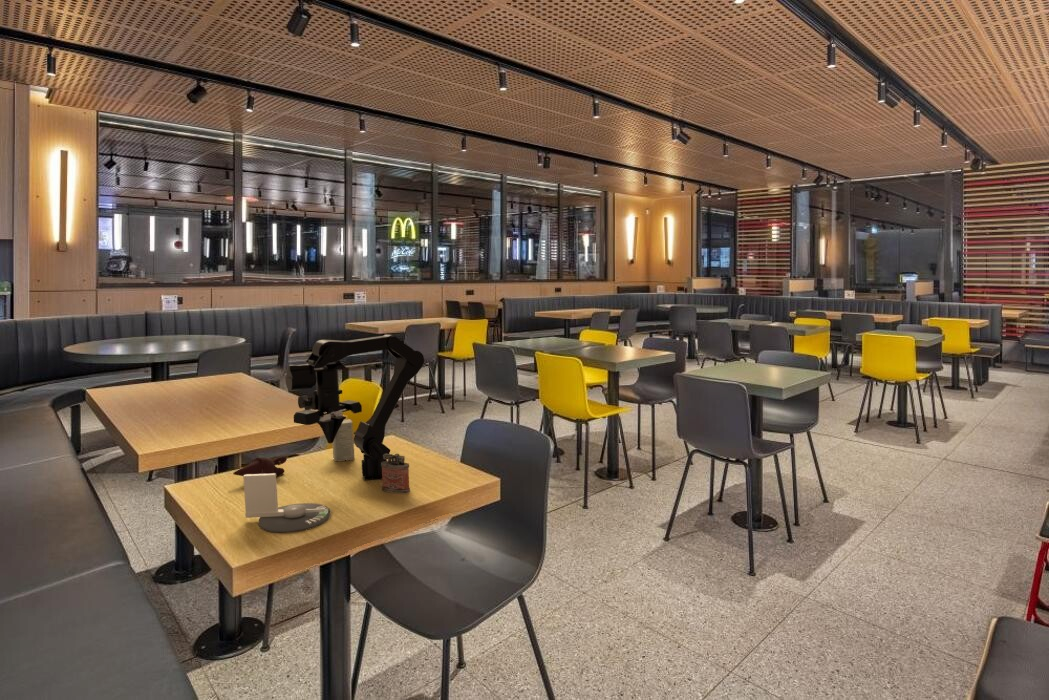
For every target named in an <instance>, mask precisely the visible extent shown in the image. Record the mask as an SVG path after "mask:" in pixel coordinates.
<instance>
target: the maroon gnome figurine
mask: <svg viewBox="0 0 1049 700" xmlns="http://www.w3.org/2000/svg"><path fill="white" fill-rule="evenodd" d="M287 460H288V458H287V457H286V456H284V455H281V456H278V457H276V458H274V459H273V460H272V459H271V458H269V457H266V456H264V457H262V456H261V457H259V456H257V457H255V458H254V459H253V460H252V461H251V463H249V464H247V465H245V466H243V467H242V468H240V469H238V470H236V471H234V472H232V473H233V476H234V475H235V476H241V477H243V476H244V475H245V474H271V473H276V476H280V475H283V474H284V473H285V469H284V468H283V467H277V466H281V465H282V464H285V463H286V462H287Z"/></svg>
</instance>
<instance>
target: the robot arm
mask: <svg viewBox="0 0 1049 700" xmlns="http://www.w3.org/2000/svg"><path fill="white" fill-rule="evenodd" d="M385 350H387V351H388V353H390V354H391V356H393V357H394V358H395V360H394V361H395V362H394V364H393V374H392V377H391V378H390V380H389V382H388V384H387V386H386V388H385V390H384V392H383V394H382V396H381V398H380V399H379V401H378V403H377V405H376V407H375V409H374V410H373V413H372V414H371V416H370V418H369V419H368V420H367V421H366V422H364V421H359V423H358V427H357V429H356V430H355V431H353V435H354V436H353V440H354V446H356V448H358V449H359V450H360V452H361V454H363V459H362V460H361V474H362V477H364V480H365V481H368V480H377V479H382V466H381V463H382V462H384V461H388V459H383V455H384V454H391V453H390V452H391V449H390V448H389V447H388V446H387V445H385V444H384V439H385V437H386V436H385V435H386V426H387V423H388V421H389V420H390V418H391V416H392V413H393V412H394V409H395V407H396V406H397V404H398V402H399V400H400V399H401V396H402V394H403V392H404V391H405V389H406V386H407V385H408V383H409V381H411V380H412V379H413V378H414V377H415V376H417V374H418V373H419V372H420V370H421V369H422V368H423V366H424V364H425V357H424V355H423V353H422V352H421V351H419V350H415V349H413V348H412V347H411V346H410V345H408V344H407V343H405V342H403V341H402V340H401V339H399V338H398V336H397V335H394V334H384V335H379V336H371V337H365V338H358V339H350V340H349V339H348V340H338V339H337V340H336V339H335V340H334V339H319V340H317V341H316V342H314V344H313V346H312V351H311V353H310V355H309V356H308V358H307V359H306V360H305V362H304V363H303V364H288V365H287V370H286V373H285V374H286V375H285V386H286V389H287V391H288V392H294V391H295V392H296V391H302V390H311V389H313V387H314V386H316V390H313V391H312V395H313V396H310V397H309V396H308V395H307V394H306V395H300V396H298V397H297V406H298V408H299V409H303V410H300V411H299V410H298V411H296V412H295V413H294V415H293V423H294V424H299V425H304V426H310V425H315V424H317V425H319V427H320V428H321V430H322V433H323V435H324V437H325V439H326V441H327V444H332V443H333V441H334V439H335V437H336V434H337V432H338V430H339V428H340V426H341V424H342V422H343V420H347V416H345V415H344V413H346V412H349V411H350V412H351V413H353V414H359V413H362V412H363V405H362V404H361V402H360V401H356V400H355V401H354V400H349V399H347V400H344V401H340V395H343V389H340V383H339V370H346V368H347V366H346V365H344V364H343V363H342V360H344V359H345V358H347V357H350V356H353V355H358V354H365V353H371V352H378V351H379V352H380V351H385Z"/></svg>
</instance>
